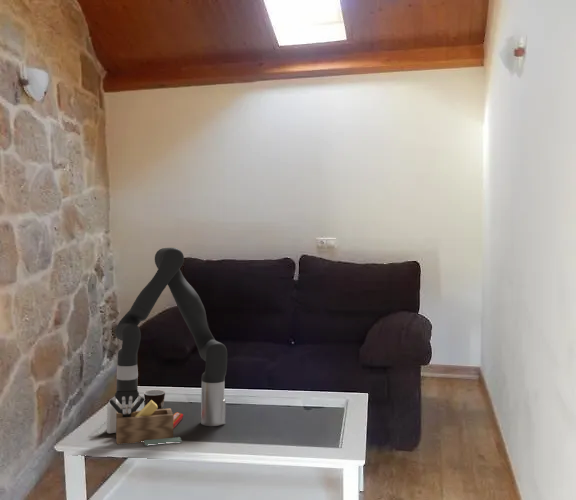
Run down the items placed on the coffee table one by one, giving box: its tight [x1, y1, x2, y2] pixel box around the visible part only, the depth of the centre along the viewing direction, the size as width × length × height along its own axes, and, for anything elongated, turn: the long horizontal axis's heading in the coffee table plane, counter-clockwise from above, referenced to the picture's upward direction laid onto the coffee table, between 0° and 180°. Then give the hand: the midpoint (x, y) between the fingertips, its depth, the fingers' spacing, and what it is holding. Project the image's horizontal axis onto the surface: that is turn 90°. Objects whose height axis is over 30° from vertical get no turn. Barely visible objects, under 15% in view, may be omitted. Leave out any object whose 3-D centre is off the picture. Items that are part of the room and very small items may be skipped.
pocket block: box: [115, 407, 174, 445], centre depth 212 cm, size 20×9×9 cm, turn 108°
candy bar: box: [173, 412, 184, 430], centre depth 229 cm, size 16×4×3 cm, turn 175°
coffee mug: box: [143, 389, 166, 409], centre depth 237 cm, size 12×9×10 cm
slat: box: [135, 400, 158, 417], centre depth 212 cm, size 14×4×3 cm
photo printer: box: [106, 399, 135, 434], centre depth 219 cm, size 10×4×12 cm, turn 123°
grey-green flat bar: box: [143, 436, 183, 446], centre depth 208 cm, size 13×4×1 cm, turn 108°
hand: (126, 423), depth 210 cm, fingers closed
